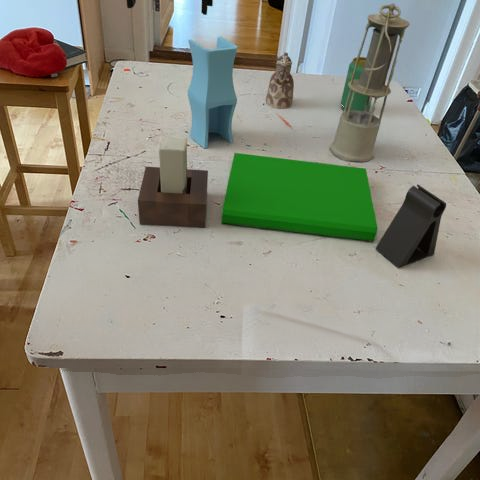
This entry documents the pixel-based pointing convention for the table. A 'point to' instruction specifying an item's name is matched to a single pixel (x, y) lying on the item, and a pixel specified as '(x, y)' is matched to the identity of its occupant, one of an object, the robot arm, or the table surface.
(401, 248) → the phone stand
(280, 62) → the figurine
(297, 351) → the table surface
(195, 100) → the vase
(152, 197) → the brown frame
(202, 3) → the robot arm
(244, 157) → the book
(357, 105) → the beverage can
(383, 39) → the lamp
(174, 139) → the box
